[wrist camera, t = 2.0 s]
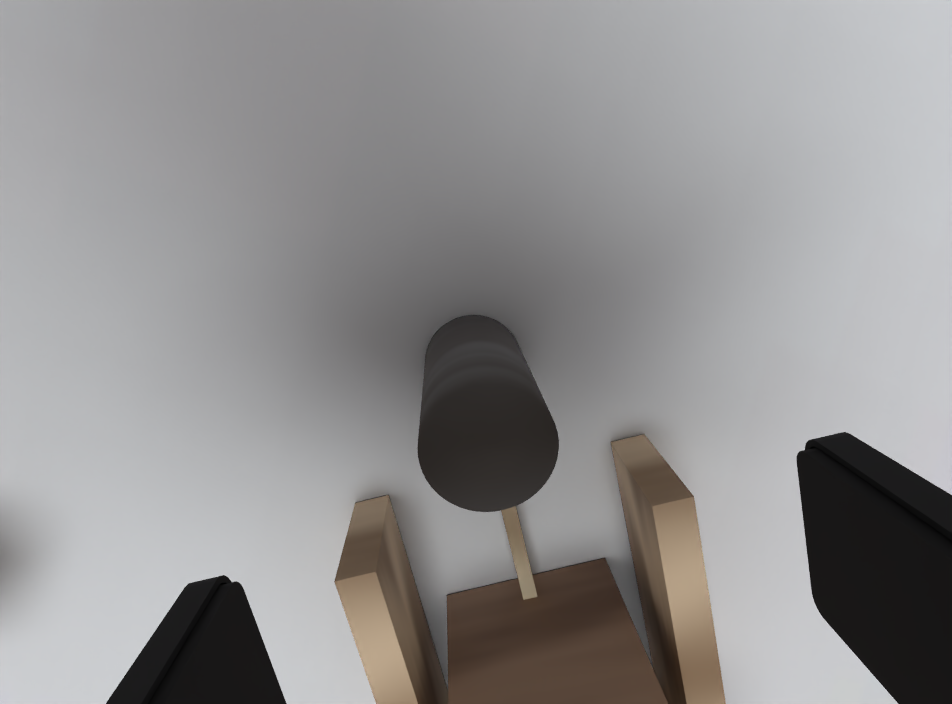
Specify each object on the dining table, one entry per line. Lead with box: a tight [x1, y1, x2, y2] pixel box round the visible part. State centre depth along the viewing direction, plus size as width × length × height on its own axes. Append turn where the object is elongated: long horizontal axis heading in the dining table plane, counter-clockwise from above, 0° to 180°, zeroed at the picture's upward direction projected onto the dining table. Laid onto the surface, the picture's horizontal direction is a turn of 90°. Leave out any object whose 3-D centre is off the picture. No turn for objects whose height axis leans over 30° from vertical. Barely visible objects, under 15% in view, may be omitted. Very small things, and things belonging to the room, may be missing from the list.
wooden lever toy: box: [418, 315, 668, 704], centre depth 19 cm, size 16×6×8 cm, turn 13°
